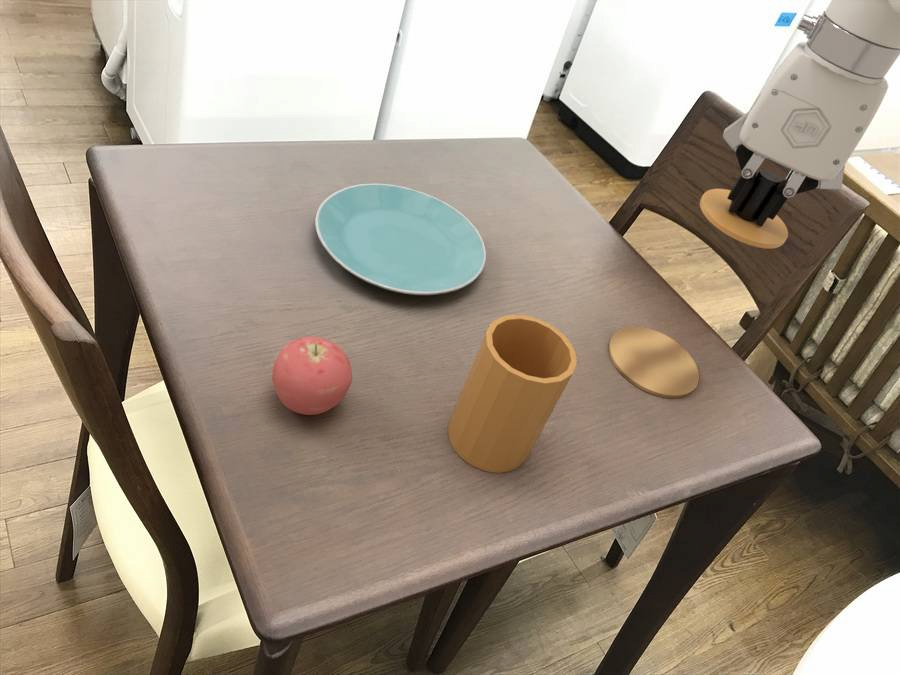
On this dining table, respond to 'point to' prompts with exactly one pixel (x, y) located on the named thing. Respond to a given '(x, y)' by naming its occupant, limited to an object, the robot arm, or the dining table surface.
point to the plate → (400, 239)
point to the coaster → (653, 362)
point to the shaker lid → (747, 213)
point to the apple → (311, 375)
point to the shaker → (510, 392)
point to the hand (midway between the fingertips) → (746, 212)
